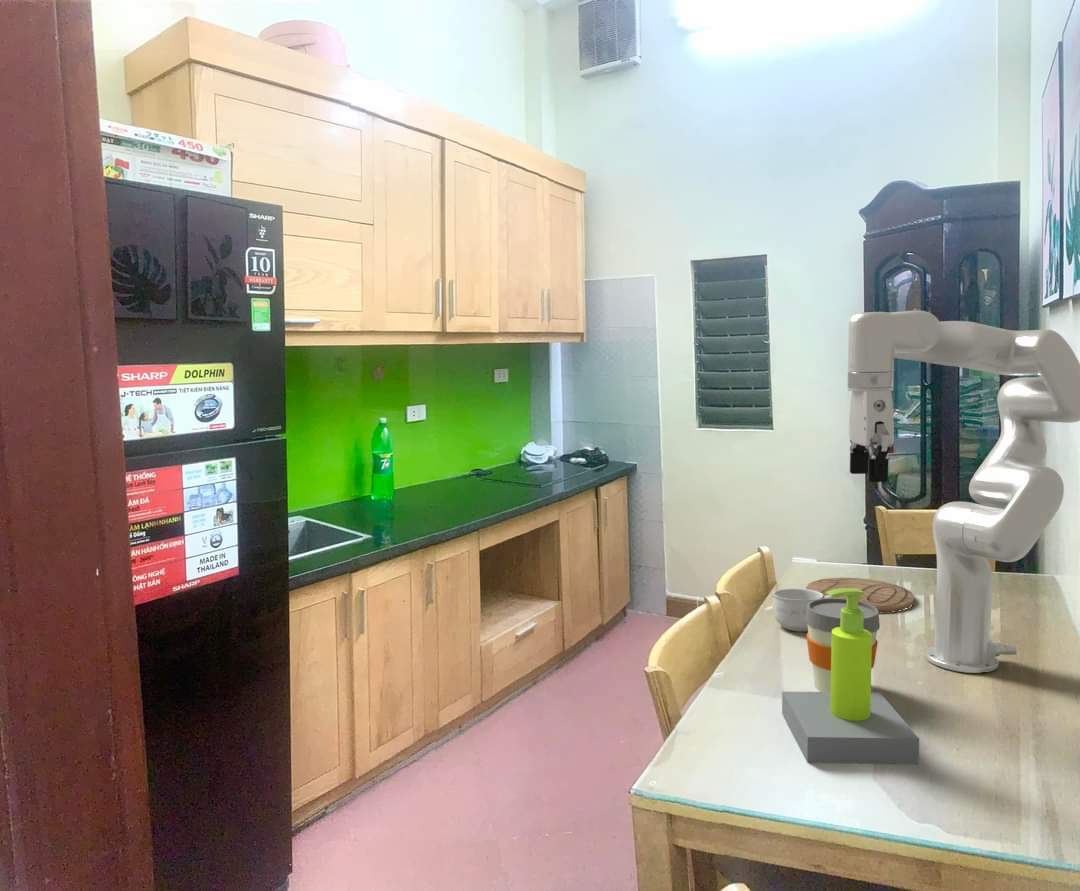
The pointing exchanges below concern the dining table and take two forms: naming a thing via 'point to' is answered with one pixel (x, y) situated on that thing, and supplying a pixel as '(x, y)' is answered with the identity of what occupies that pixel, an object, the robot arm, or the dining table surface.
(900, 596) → the trivet
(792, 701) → the stand
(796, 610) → the teacup
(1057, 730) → the dining table surface
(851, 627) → the soap dispenser
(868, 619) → the reusable coffee cup
